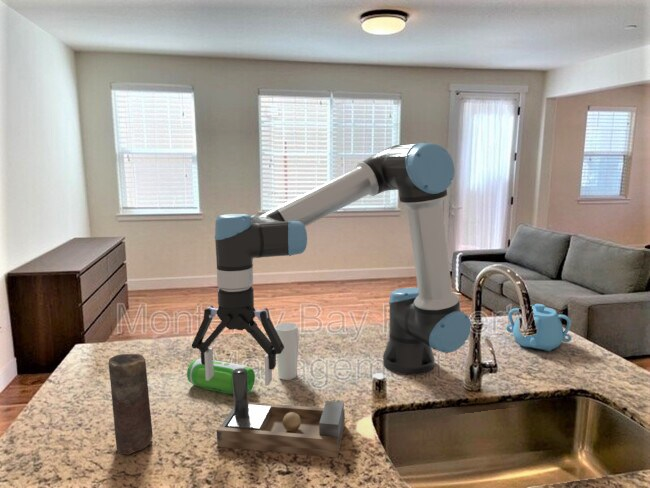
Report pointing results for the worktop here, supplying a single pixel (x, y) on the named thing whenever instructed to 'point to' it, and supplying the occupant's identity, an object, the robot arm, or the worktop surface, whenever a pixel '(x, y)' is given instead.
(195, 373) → the speaker
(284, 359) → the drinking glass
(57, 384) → the worktop surface
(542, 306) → the decorative pot
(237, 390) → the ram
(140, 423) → the candle
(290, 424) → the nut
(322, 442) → the base
